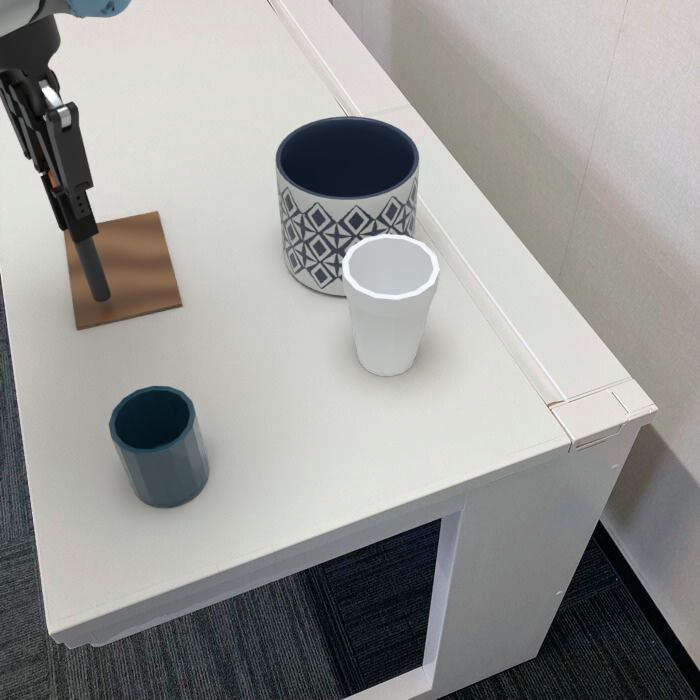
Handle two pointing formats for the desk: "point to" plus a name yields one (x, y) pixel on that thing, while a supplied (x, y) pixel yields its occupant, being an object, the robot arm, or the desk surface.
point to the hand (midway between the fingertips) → (79, 230)
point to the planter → (342, 193)
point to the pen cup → (160, 445)
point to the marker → (91, 265)
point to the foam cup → (389, 299)
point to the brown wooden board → (125, 271)
